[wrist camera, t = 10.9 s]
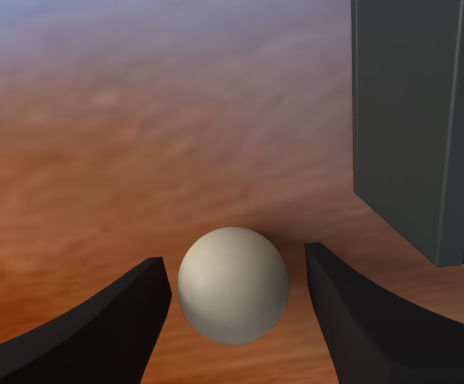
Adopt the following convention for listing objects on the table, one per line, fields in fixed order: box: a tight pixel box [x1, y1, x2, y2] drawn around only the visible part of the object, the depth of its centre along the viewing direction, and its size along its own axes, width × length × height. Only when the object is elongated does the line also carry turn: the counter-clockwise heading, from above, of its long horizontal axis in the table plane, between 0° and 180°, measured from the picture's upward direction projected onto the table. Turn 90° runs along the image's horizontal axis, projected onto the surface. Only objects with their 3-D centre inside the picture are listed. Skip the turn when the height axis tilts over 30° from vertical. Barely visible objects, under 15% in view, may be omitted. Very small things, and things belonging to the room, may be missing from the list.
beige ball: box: [177, 227, 289, 345], centre depth 11 cm, size 4×4×4 cm
